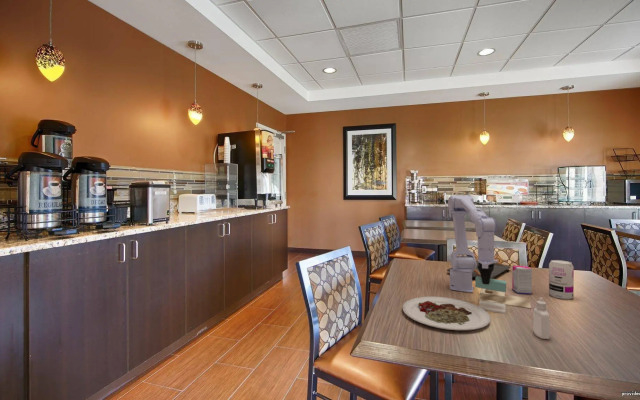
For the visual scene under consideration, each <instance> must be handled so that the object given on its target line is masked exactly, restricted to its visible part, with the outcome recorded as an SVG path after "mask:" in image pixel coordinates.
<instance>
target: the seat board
mask: <svg viewBox="0 0 640 400" xmlns="http://www.w3.org/2000/svg"><path fill="white" fill-rule="evenodd" d="M480 300H481V301H488V302H494V303H501V304H505V306H511V307H518V308H522V309H530V310H531V309H532V305H531V302H530V298H529V297H524V296H516V295H509V294H506V293H505V292H500V291H494V290H489V289H483V288H480V290H479V296H478V302H479V301H480Z"/></svg>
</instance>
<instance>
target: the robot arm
mask: <svg viewBox="0 0 640 400" xmlns="http://www.w3.org/2000/svg"><path fill="white" fill-rule="evenodd" d="M474 202H475V201H474V197H473V196H472V195H470V194H468V195H453V194H452V195H449V197H448V200H447V206H448V213H449V214H450V215H451V216H452V221H453V230H454V231H453V232H454V239H455V248H456V249H455V250H454V251H453V252H451V253H450V267H451V268H453V269H451V270H450V275H449V290H451V291H459V292H465V293H466V292H467V293H470V294H471V293H472V294H473V292H474V287H475V286H473V277H472V271H474V269H475V268H476V265H477V263H476V261H478V262H479V263H478V264H479V265H478V266H477V267H478V269H479V271H480V274H481V279H482V283H483V284H488V285H489V282H490V277H491V273H492V271H493V270H494V263H498V262H499V261H498V259H496V260H494V259H495V233H496V232H497V231H498V221H497V220H496V218H494V217H489V216H488V215H487V214H486V213H485V212H484V211H483V210H482V209H481V207H480V208H479V207H478V208H477V207H476V205H475V204H474ZM467 214H468V218H469V219H470V220H471V222H472V223H473V224H474V229H475V235H476V238H477V258H475V257H476V256H475V253H474V252H473V251H472V250H470V249H469V246H468V237H467V232H466V231H467V230H466V229H467V228H466V223H465V222H466V221H465V215H467Z"/></svg>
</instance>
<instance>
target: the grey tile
mask: <svg viewBox="0 0 640 400" xmlns="http://www.w3.org/2000/svg"><path fill="white" fill-rule="evenodd" d="M478 302H479V304H478V305H477V306H478V307H480V308H482V309H483V310H485V311H486V312H487V311H488V312H494V313H499V314H505V315H506V305H505V304H501V303H494V302H488V301H481V300H480V301H479V300H478Z"/></svg>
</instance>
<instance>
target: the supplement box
mask: <svg viewBox="0 0 640 400" xmlns="http://www.w3.org/2000/svg"><path fill="white" fill-rule="evenodd" d="M511 278H512V280H511V281H512V282H511V284H512V285H511V290H512V291H513V292H514V293H515V294H517V295H532V293H533V292H532V290H533V289H532V287H533V285H532V283H533V282H532V281H533V279H532V278H533V270H532V268H530V267H529V266H526V265H512V277H511Z"/></svg>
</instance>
